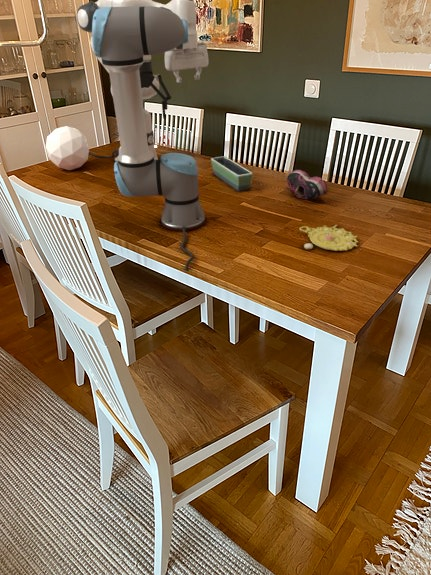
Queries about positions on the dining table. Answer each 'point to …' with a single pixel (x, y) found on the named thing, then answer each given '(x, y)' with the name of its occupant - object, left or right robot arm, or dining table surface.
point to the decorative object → (330, 238)
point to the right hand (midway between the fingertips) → (147, 119)
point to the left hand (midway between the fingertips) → (188, 80)
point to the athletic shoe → (306, 185)
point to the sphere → (67, 148)
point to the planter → (232, 173)
